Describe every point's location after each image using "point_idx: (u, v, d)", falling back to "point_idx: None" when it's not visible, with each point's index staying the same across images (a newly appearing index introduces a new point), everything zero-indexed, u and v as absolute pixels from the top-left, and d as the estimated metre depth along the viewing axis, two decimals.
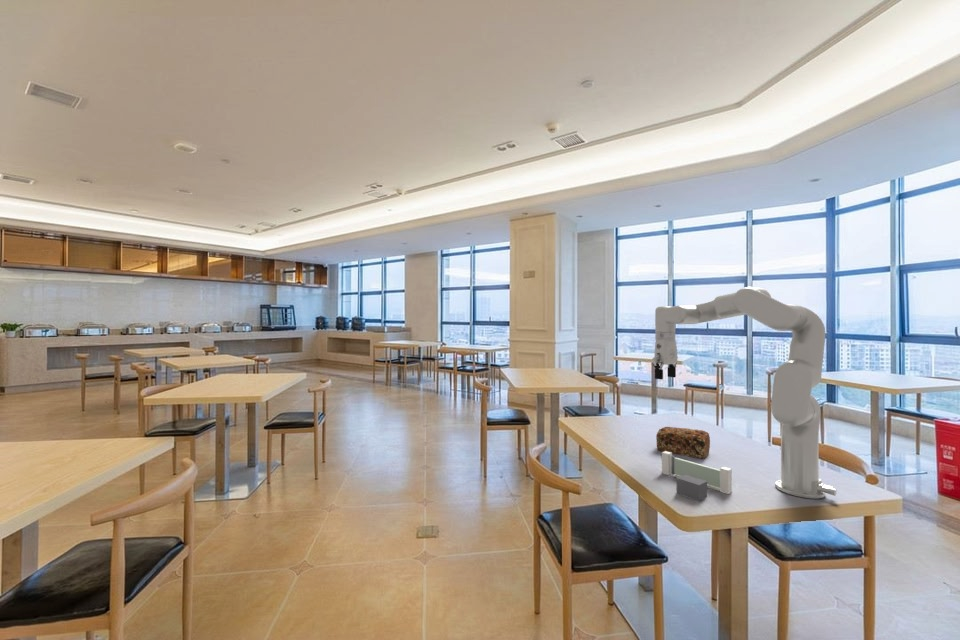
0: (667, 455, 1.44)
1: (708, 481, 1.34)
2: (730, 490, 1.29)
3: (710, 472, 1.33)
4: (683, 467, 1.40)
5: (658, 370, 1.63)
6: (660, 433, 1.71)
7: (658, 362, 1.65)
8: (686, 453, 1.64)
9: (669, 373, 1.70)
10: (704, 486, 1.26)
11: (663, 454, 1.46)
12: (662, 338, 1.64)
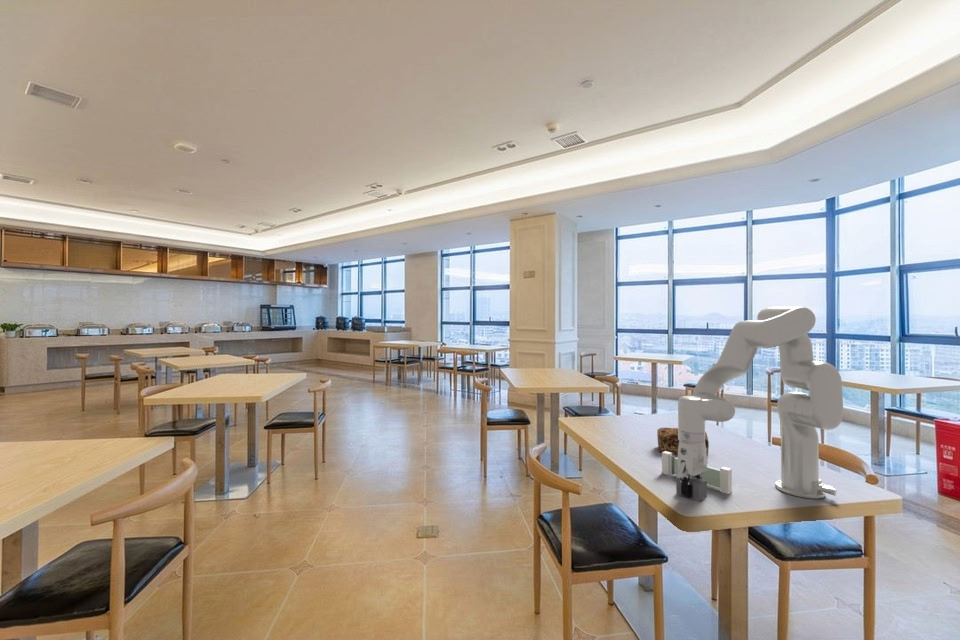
0: (667, 455, 1.44)
1: (708, 481, 1.34)
2: (730, 490, 1.29)
3: (710, 472, 1.33)
4: None
5: (686, 485, 1.25)
6: (662, 435, 1.68)
7: (684, 474, 1.26)
8: None
9: None
10: (704, 485, 1.26)
11: (663, 454, 1.46)
12: (688, 441, 1.25)
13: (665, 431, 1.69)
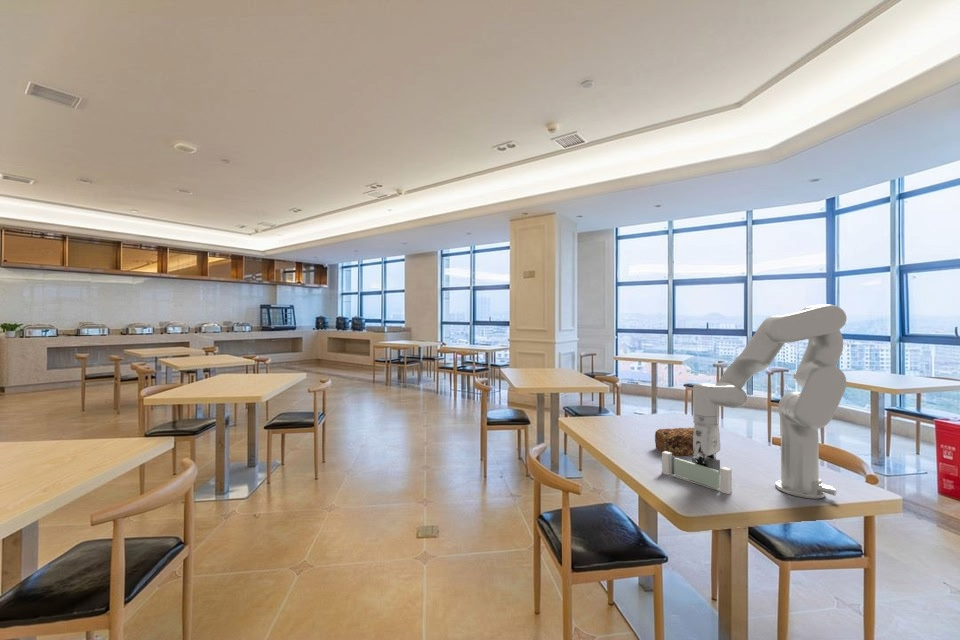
0: (667, 455, 1.44)
1: (706, 482, 1.33)
2: (730, 490, 1.29)
3: (708, 472, 1.33)
4: (682, 467, 1.40)
5: (701, 464, 1.37)
6: (667, 437, 1.65)
7: (699, 454, 1.38)
8: (693, 453, 1.64)
9: None
10: (717, 464, 1.37)
11: (663, 454, 1.46)
12: (703, 423, 1.37)
13: (668, 433, 1.67)
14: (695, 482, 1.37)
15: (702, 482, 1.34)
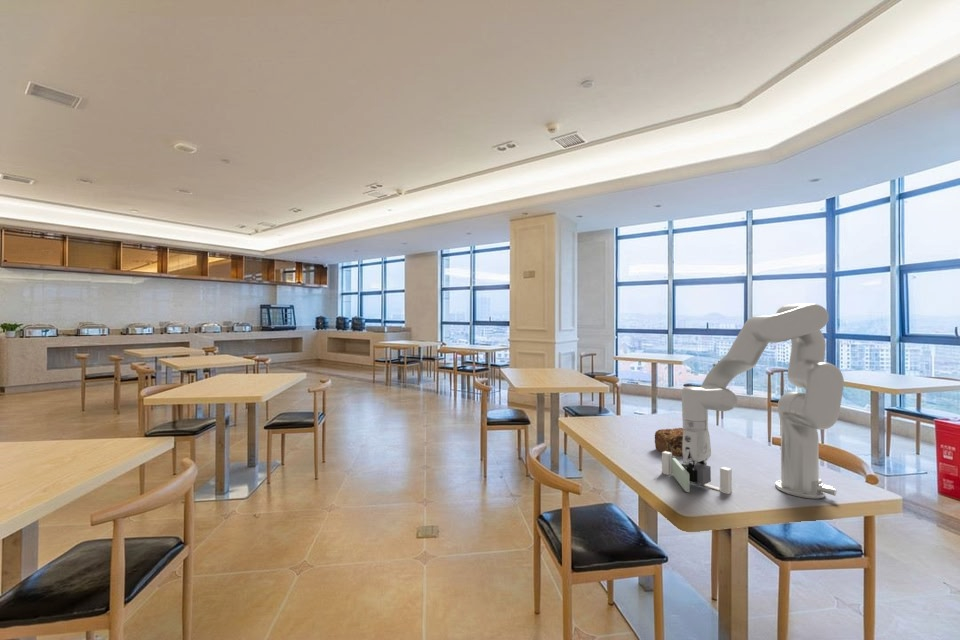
0: (667, 455, 1.44)
1: (682, 483, 1.32)
2: (730, 490, 1.29)
3: (682, 474, 1.31)
4: (674, 467, 1.40)
5: (691, 471, 1.32)
6: (668, 438, 1.64)
7: (689, 460, 1.33)
8: None
9: None
10: (708, 471, 1.32)
11: (663, 454, 1.46)
12: (692, 429, 1.32)
13: (669, 433, 1.66)
14: None
15: (680, 483, 1.33)
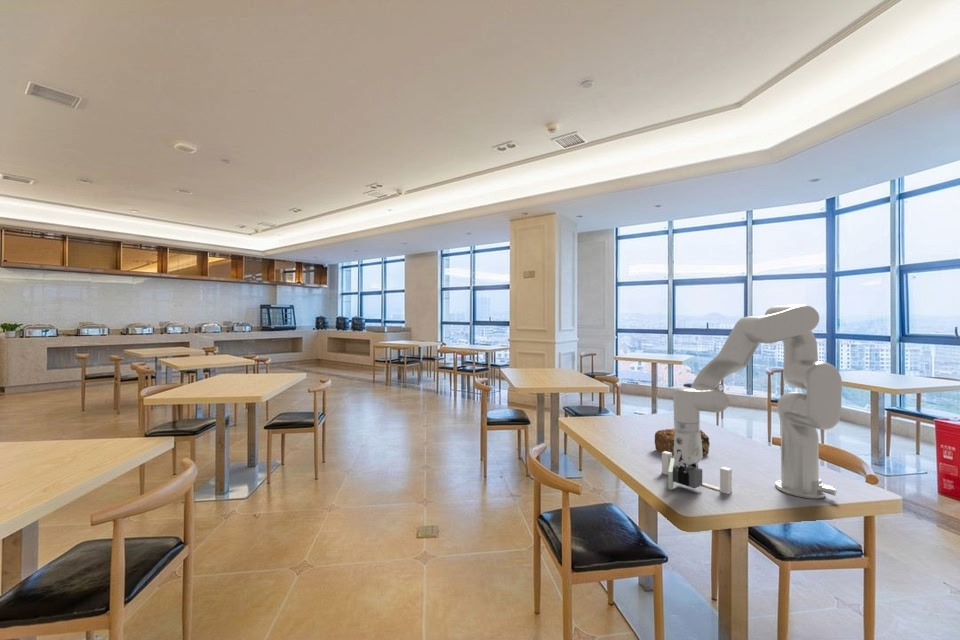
0: (667, 455, 1.44)
1: None
2: (730, 490, 1.29)
3: None
4: None
5: (683, 474, 1.30)
6: (670, 438, 1.63)
7: (681, 463, 1.30)
8: None
9: None
10: (699, 474, 1.30)
11: (663, 454, 1.46)
12: (683, 431, 1.29)
13: (670, 434, 1.65)
14: None
15: None
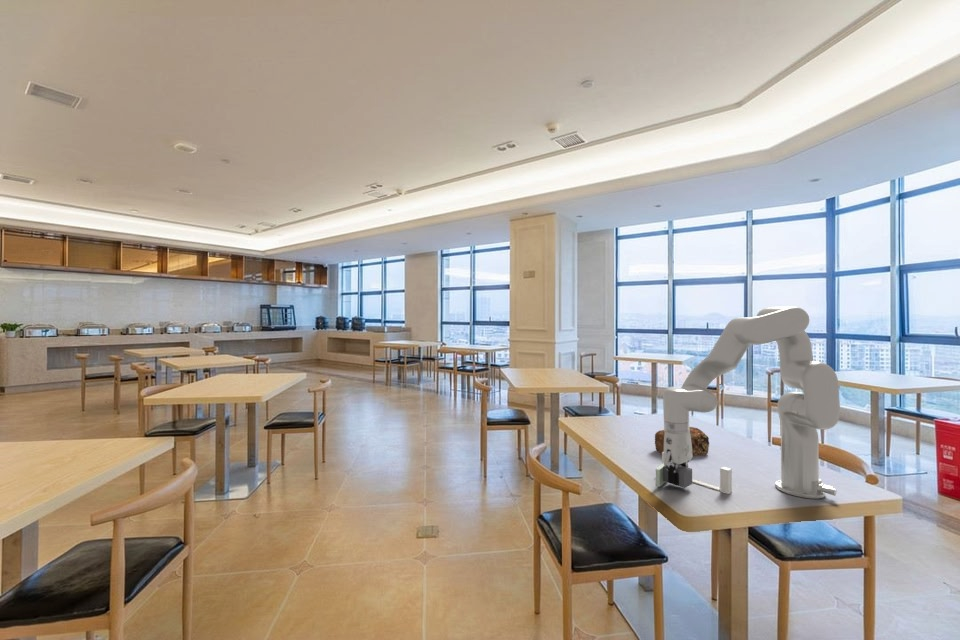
0: None
1: None
2: (730, 490, 1.29)
3: None
4: None
5: (672, 473, 1.31)
6: None
7: (670, 462, 1.31)
8: (694, 453, 1.65)
9: None
10: (689, 473, 1.31)
11: (663, 454, 1.46)
12: (673, 430, 1.30)
13: None
14: (695, 482, 1.37)
15: None
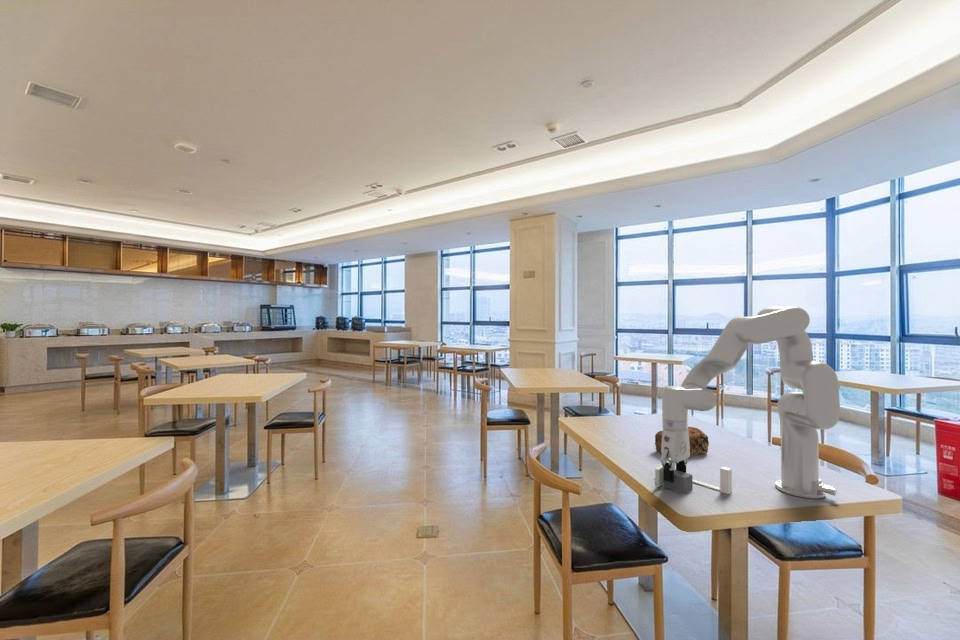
0: None
1: None
2: (730, 490, 1.29)
3: None
4: None
5: (668, 471, 1.30)
6: None
7: (667, 460, 1.31)
8: (695, 453, 1.65)
9: None
10: (689, 479, 1.31)
11: None
12: (671, 428, 1.30)
13: None
14: (695, 482, 1.37)
15: None
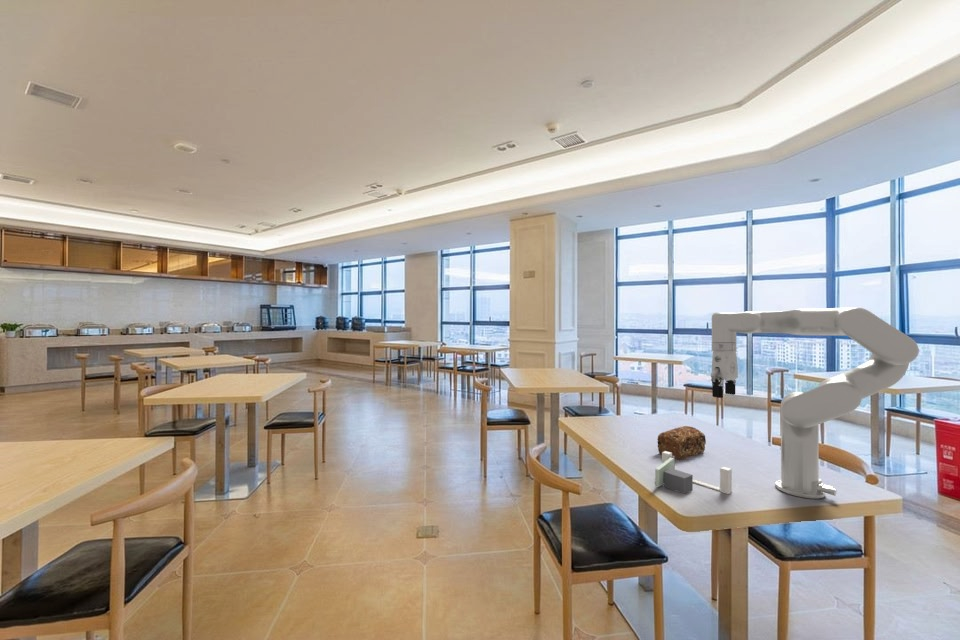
0: (667, 455, 1.44)
1: None
2: (730, 490, 1.29)
3: None
4: None
5: (717, 387, 1.40)
6: (680, 440, 1.61)
7: (717, 377, 1.41)
8: (696, 452, 1.66)
9: (727, 390, 1.47)
10: (689, 479, 1.31)
11: (663, 454, 1.46)
12: (721, 349, 1.41)
13: (678, 435, 1.63)
14: (695, 482, 1.37)
15: None
